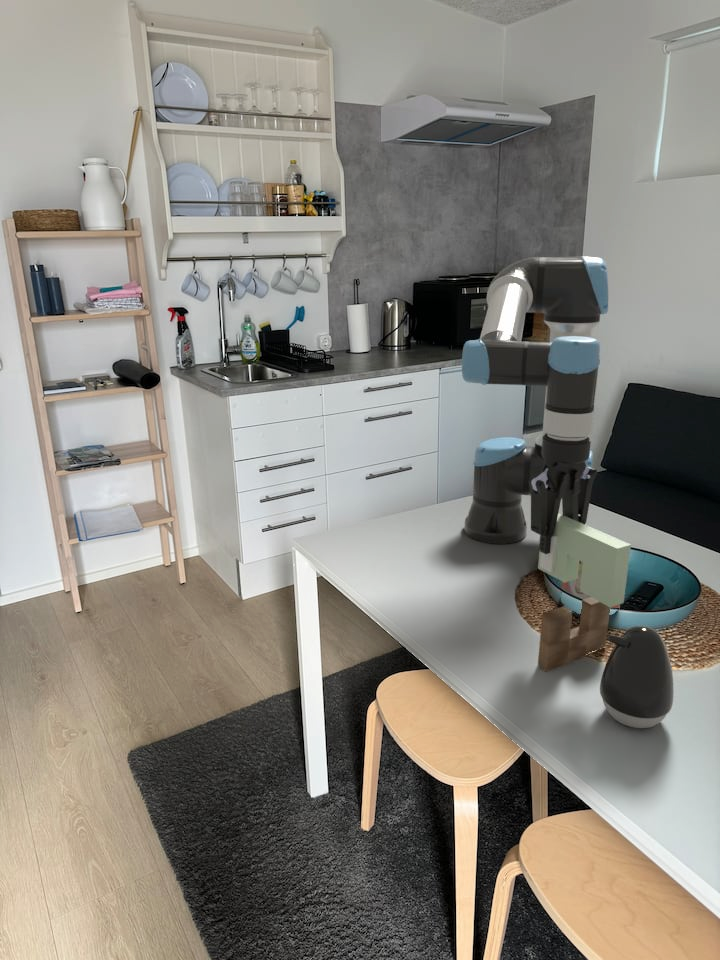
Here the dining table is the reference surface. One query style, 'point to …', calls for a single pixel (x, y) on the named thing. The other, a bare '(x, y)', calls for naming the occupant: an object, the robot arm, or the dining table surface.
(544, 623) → the brown u-shaped block
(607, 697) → the pump dispenser
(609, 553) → the green arch bridge
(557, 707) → the dining table surface
